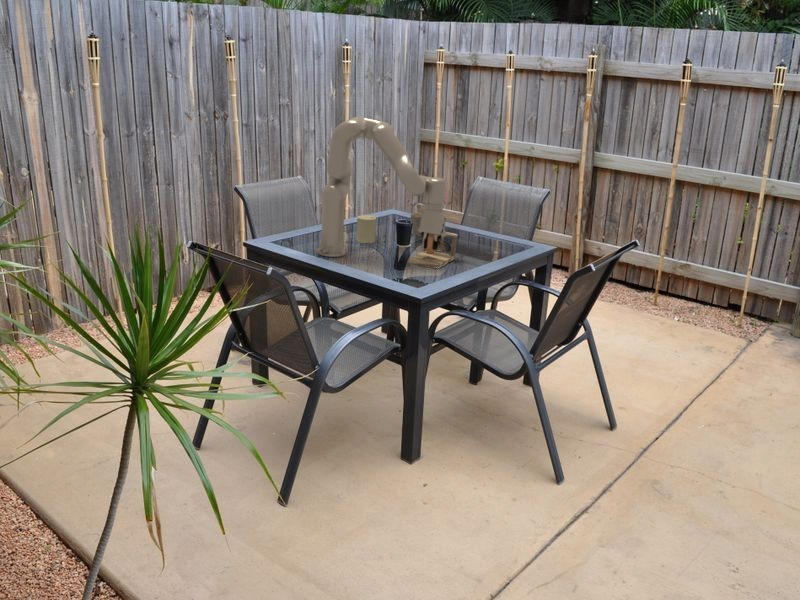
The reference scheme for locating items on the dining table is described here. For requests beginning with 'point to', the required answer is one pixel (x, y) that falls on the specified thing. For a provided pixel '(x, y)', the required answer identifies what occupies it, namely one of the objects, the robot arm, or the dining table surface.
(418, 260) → the socket block
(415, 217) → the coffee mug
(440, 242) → the coffee box
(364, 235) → the can
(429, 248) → the peg
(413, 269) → the dining table surface
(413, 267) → the dining table surface
